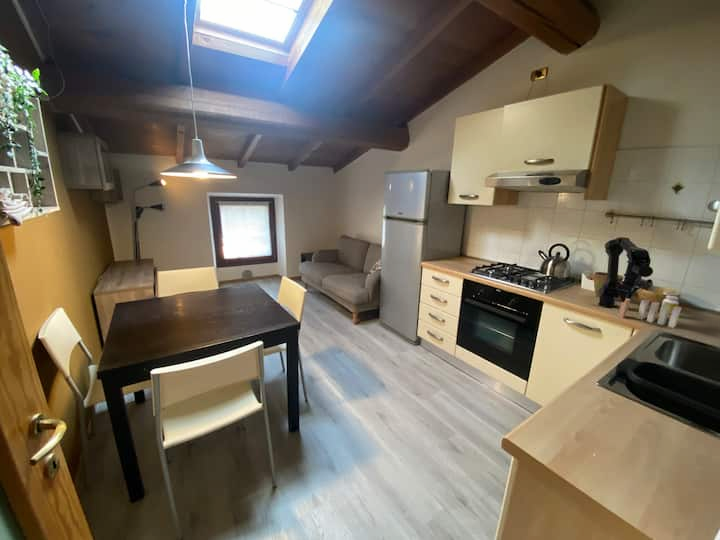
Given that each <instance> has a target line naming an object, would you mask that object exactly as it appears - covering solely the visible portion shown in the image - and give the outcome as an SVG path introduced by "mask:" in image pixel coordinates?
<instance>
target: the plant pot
mask: <svg viewBox="0 0 720 540" xmlns="http://www.w3.org/2000/svg"><path fill="white" fill-rule="evenodd" d="M624 277H625V276H624V275H620V274H618V282H619V283H622V281H624ZM606 280H607V272H605V271H595V272H593V285H594V286H593V287H594V294H595V297H596V298H597V297H599V298H598V299H600V296H601V295H599V294H598V291H599V290H600V288H601V287H602V286H603V283H604V282H605V281H606Z"/></svg>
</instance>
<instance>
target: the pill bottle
mask: <svg viewBox="0 0 720 540" xmlns="http://www.w3.org/2000/svg"><path fill="white" fill-rule="evenodd" d="M678 300H679V297H678V296H676V295H668V294H666V296H665V298H664V299H663V300H662V302H661V304H660V305H661V306H660V310H659V312H660V311H661V308H662V305H664V304H668V305H670V308H669V311H668V315H667V317H669V318H670V317H671V314H672V311H673V308H674V307H676V306H677V307H679V305H680V303H679V301H678Z"/></svg>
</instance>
